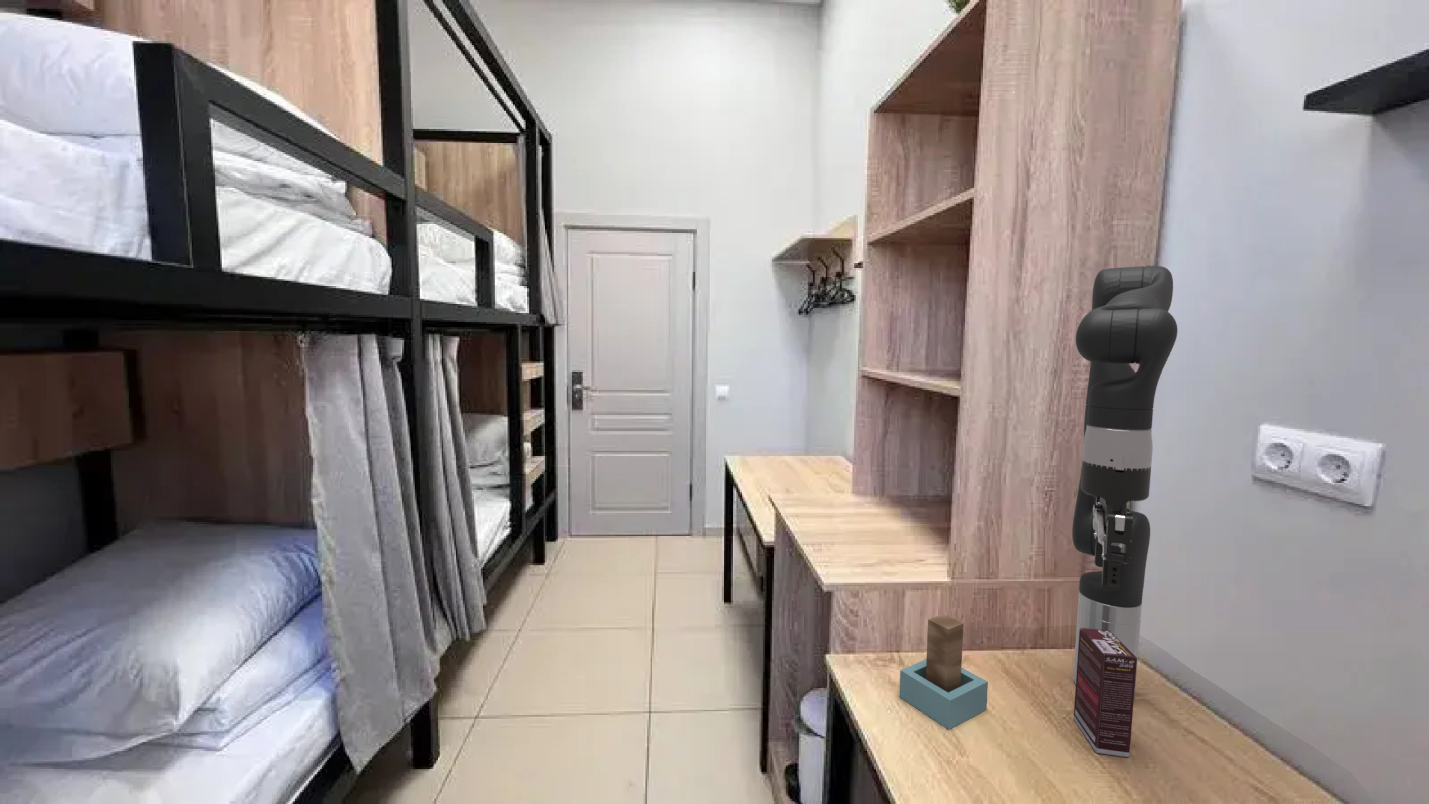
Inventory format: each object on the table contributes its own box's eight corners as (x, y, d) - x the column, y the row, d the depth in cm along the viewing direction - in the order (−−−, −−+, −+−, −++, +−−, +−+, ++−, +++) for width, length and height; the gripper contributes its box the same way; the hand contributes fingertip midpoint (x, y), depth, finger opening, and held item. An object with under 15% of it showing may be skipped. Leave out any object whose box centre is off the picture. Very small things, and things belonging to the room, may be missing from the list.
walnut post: (924, 696, 98) (928, 619, 96) (939, 689, 100) (943, 613, 98) (944, 709, 94) (948, 629, 93) (959, 701, 96) (963, 623, 95)
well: (899, 697, 99) (900, 670, 98) (936, 680, 104) (937, 654, 104) (948, 729, 90) (950, 700, 90) (986, 709, 95) (987, 681, 95)
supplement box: (1131, 759, 84) (1139, 658, 83) (1095, 754, 85) (1102, 654, 84) (1104, 721, 92) (1110, 629, 91) (1071, 717, 93) (1077, 626, 92)
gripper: (1078, 449, 83) (1071, 556, 84) (1087, 467, 71) (1079, 591, 72) (1141, 454, 79) (1132, 565, 81) (1162, 473, 67) (1152, 604, 68)
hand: (1107, 577), depth 76 cm, fingers open, 8 cm apart
